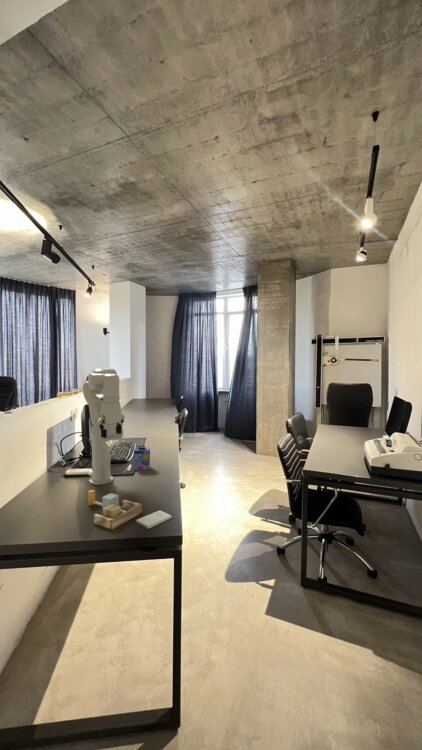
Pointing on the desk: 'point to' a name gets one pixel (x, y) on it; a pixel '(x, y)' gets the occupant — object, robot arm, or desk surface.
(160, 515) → the external hard drive
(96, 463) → the robot arm
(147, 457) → the ink cartridge box
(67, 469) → the desk surface
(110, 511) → the plain block
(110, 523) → the shelf lanes
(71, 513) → the desk surface
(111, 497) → the block
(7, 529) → the desk surface
